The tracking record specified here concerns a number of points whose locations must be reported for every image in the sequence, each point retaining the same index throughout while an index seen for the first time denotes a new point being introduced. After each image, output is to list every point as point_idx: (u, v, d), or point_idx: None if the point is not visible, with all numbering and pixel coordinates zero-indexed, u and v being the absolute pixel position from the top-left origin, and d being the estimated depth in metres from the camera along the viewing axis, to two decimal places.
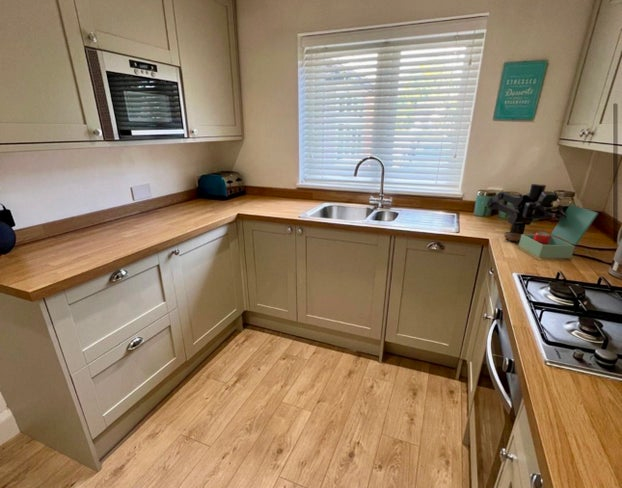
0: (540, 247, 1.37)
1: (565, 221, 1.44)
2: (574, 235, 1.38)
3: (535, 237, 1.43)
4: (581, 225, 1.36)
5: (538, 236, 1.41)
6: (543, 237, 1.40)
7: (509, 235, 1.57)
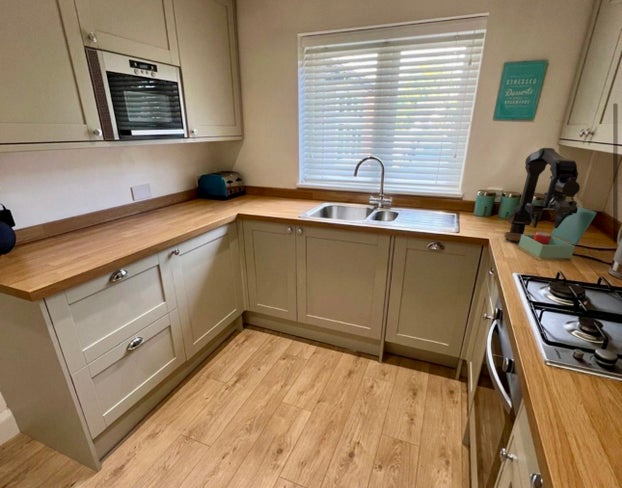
0: (540, 247, 1.37)
1: (565, 221, 1.44)
2: (574, 235, 1.38)
3: (535, 237, 1.43)
4: (580, 225, 1.36)
5: (538, 236, 1.41)
6: (543, 237, 1.40)
7: (509, 235, 1.57)
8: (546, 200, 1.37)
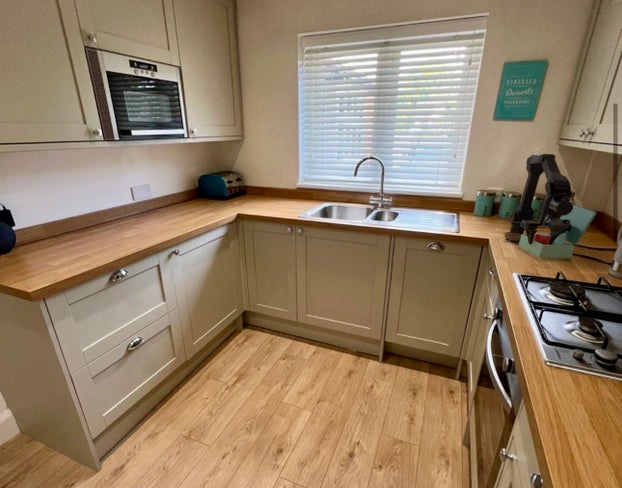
0: (540, 247, 1.37)
1: None
2: (574, 235, 1.38)
3: (535, 237, 1.43)
4: (580, 225, 1.36)
5: (538, 236, 1.41)
6: (543, 237, 1.40)
7: (509, 235, 1.57)
8: (541, 218, 1.39)
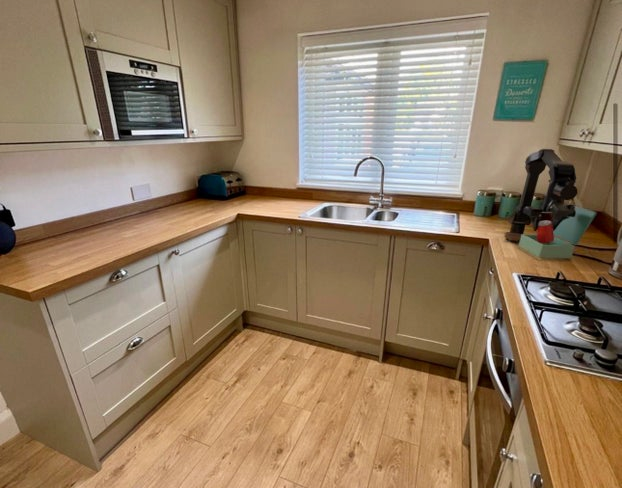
0: (540, 247, 1.37)
1: (565, 221, 1.44)
2: (574, 235, 1.38)
3: (537, 229, 1.41)
4: (580, 225, 1.36)
5: (539, 227, 1.40)
6: (544, 227, 1.38)
7: (509, 235, 1.57)
8: (544, 203, 1.37)
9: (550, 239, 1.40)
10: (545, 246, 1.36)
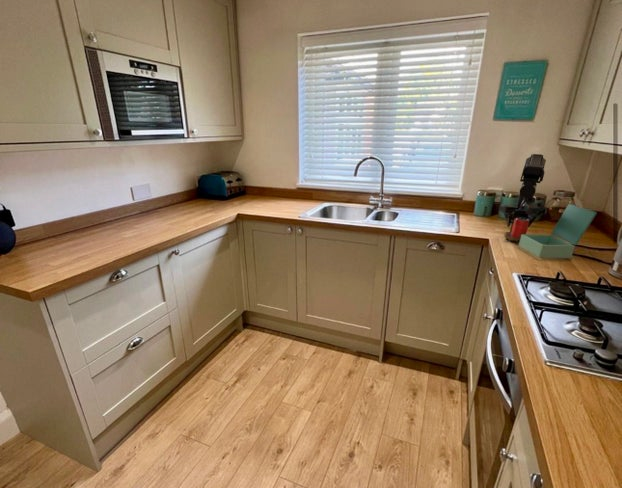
0: (540, 247, 1.37)
1: (565, 221, 1.44)
2: (574, 235, 1.38)
3: (515, 222, 1.54)
4: (580, 225, 1.36)
5: (518, 221, 1.53)
6: (522, 222, 1.52)
7: (509, 235, 1.57)
8: (518, 202, 1.51)
9: None
10: (545, 246, 1.36)
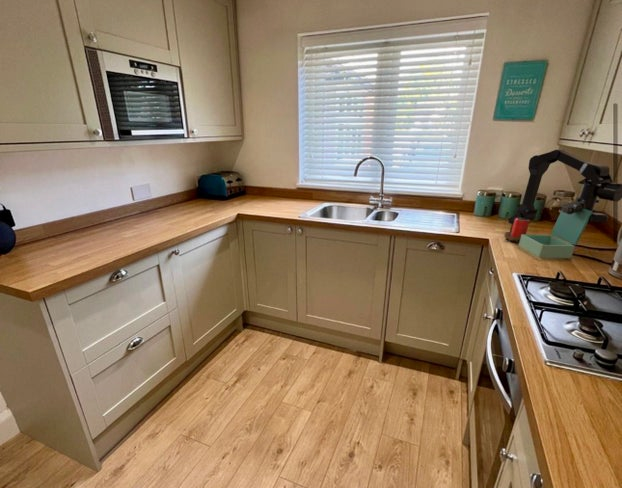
0: (540, 247, 1.37)
1: (563, 221, 1.44)
2: (573, 235, 1.38)
3: (515, 222, 1.54)
4: (577, 225, 1.36)
5: (518, 221, 1.53)
6: (522, 222, 1.52)
7: (509, 235, 1.57)
8: None
9: None
10: (545, 246, 1.36)
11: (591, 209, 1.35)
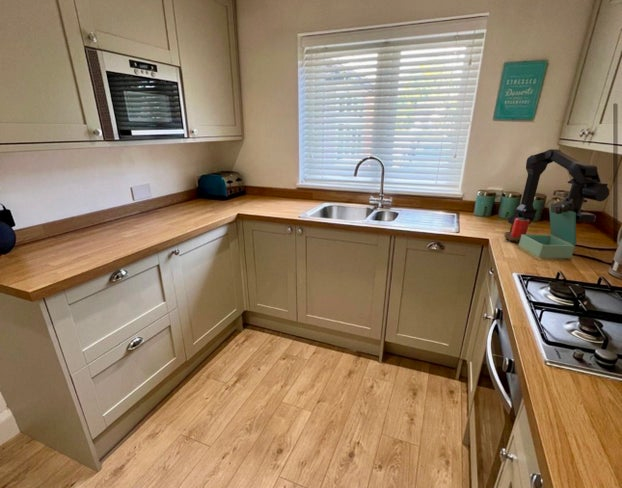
0: (540, 247, 1.37)
1: (555, 222, 1.44)
2: (569, 236, 1.38)
3: (515, 222, 1.54)
4: (568, 226, 1.36)
5: (518, 221, 1.53)
6: (522, 222, 1.52)
7: (509, 235, 1.57)
8: None
9: None
10: (545, 246, 1.36)
11: (579, 209, 1.35)
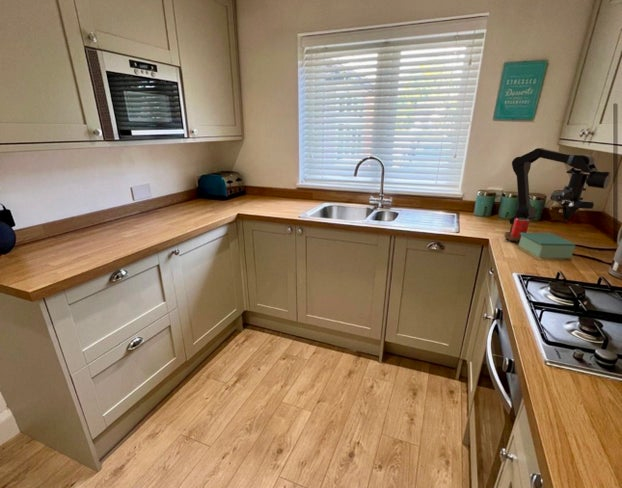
0: (540, 247, 1.37)
1: None
2: None
3: (515, 222, 1.54)
4: None
5: (518, 221, 1.53)
6: (522, 222, 1.52)
7: (509, 235, 1.57)
8: None
9: None
10: (545, 246, 1.36)
11: (578, 197, 1.43)
